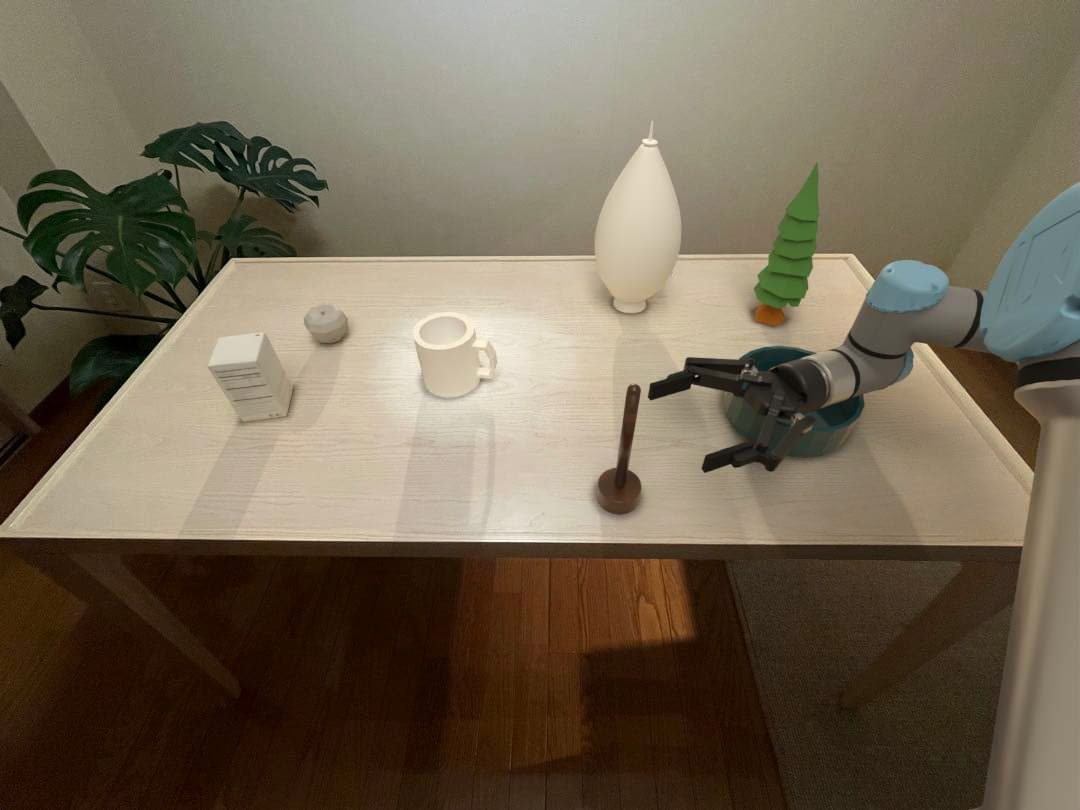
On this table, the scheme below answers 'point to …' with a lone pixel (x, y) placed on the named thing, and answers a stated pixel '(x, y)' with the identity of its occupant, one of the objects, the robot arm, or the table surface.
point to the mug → (451, 354)
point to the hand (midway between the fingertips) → (675, 425)
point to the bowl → (820, 440)
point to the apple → (326, 323)
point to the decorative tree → (790, 256)
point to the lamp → (638, 230)
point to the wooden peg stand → (622, 464)
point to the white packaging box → (251, 376)
